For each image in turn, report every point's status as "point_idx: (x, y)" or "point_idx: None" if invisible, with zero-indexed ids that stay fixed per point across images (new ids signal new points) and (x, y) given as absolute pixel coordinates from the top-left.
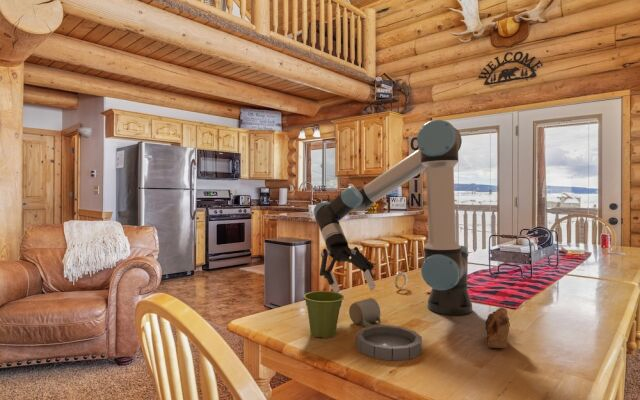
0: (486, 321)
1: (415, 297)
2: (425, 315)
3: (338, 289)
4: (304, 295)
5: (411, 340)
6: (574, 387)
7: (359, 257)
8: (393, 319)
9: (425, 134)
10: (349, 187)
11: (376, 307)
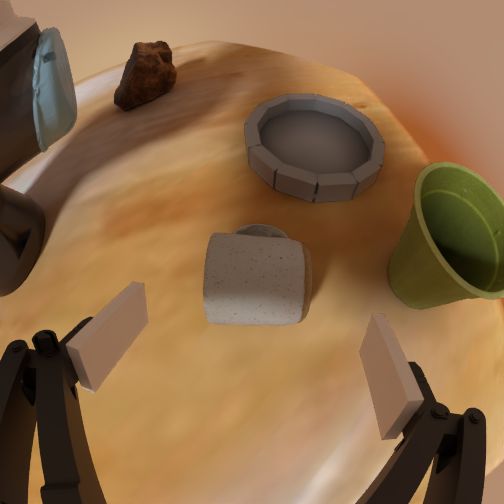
0: (135, 79)
1: None
2: (70, 243)
3: (380, 315)
4: None
5: (260, 131)
6: (207, 44)
7: (9, 463)
8: (154, 266)
9: None
10: None
11: (228, 233)
